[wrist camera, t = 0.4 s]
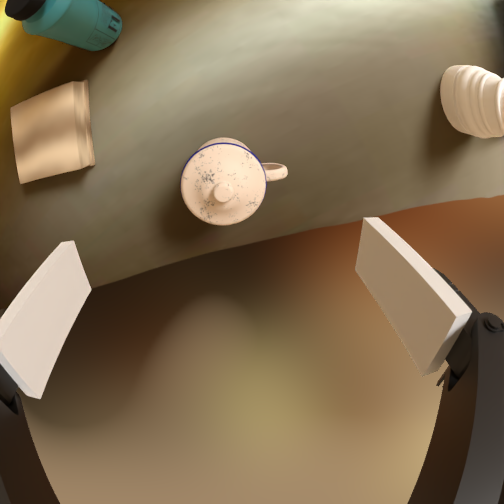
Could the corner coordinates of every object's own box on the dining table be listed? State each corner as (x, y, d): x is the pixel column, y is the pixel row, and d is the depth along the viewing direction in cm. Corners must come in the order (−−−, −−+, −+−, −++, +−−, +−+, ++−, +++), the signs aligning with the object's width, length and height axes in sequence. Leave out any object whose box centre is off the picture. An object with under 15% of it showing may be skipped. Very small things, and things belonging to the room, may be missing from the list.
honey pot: (481, 137, 35) (552, 164, 19) (440, 128, 34) (523, 154, 19) (480, 75, 29) (553, 87, 13) (437, 57, 28) (520, 58, 12)
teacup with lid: (195, 205, 38) (185, 243, 28) (184, 141, 33) (167, 155, 23) (280, 193, 38) (302, 227, 28) (275, 129, 34) (298, 138, 24)
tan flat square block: (24, 104, 26) (9, 106, 22) (88, 80, 27) (74, 78, 23) (33, 178, 32) (19, 186, 29) (95, 164, 33) (83, 170, 29)
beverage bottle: (131, 42, 25) (52, -3, 8) (88, 62, 25) (-8, 45, 8) (124, 7, 22) (53, -50, 5) (82, 27, 22) (-6, -5, 5)
